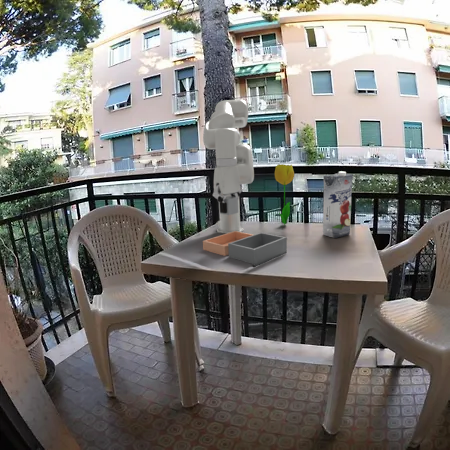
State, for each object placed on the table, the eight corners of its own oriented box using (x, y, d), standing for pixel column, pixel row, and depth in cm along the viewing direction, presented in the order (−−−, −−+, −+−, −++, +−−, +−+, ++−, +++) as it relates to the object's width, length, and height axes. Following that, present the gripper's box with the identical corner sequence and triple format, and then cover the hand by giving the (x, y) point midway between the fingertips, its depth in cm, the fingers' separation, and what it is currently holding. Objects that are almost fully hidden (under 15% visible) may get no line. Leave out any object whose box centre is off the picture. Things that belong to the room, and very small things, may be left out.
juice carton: (319, 235, 138) (320, 172, 132) (336, 231, 143) (338, 170, 136) (335, 239, 130) (337, 172, 124) (353, 235, 135) (356, 170, 129)
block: (219, 213, 122) (219, 198, 121) (229, 211, 126) (228, 196, 124) (229, 215, 119) (228, 199, 117) (238, 212, 122) (237, 197, 121)
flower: (282, 228, 152) (282, 164, 145) (272, 225, 159) (271, 164, 152) (297, 225, 156) (297, 163, 149) (286, 222, 163) (286, 163, 156)
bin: (229, 259, 114) (228, 243, 112) (261, 247, 126) (260, 232, 124) (254, 267, 105) (254, 249, 104) (286, 253, 117) (286, 237, 116)
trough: (203, 252, 123) (202, 240, 122) (235, 241, 136) (235, 230, 134) (225, 258, 115) (224, 246, 114) (257, 246, 127) (257, 235, 126)
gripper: (235, 161, 126) (237, 206, 131) (202, 165, 115) (205, 214, 119) (249, 161, 121) (251, 208, 125) (216, 165, 109) (219, 217, 114)
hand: (228, 210), depth 122 cm, fingers closed on block, 5 cm apart
